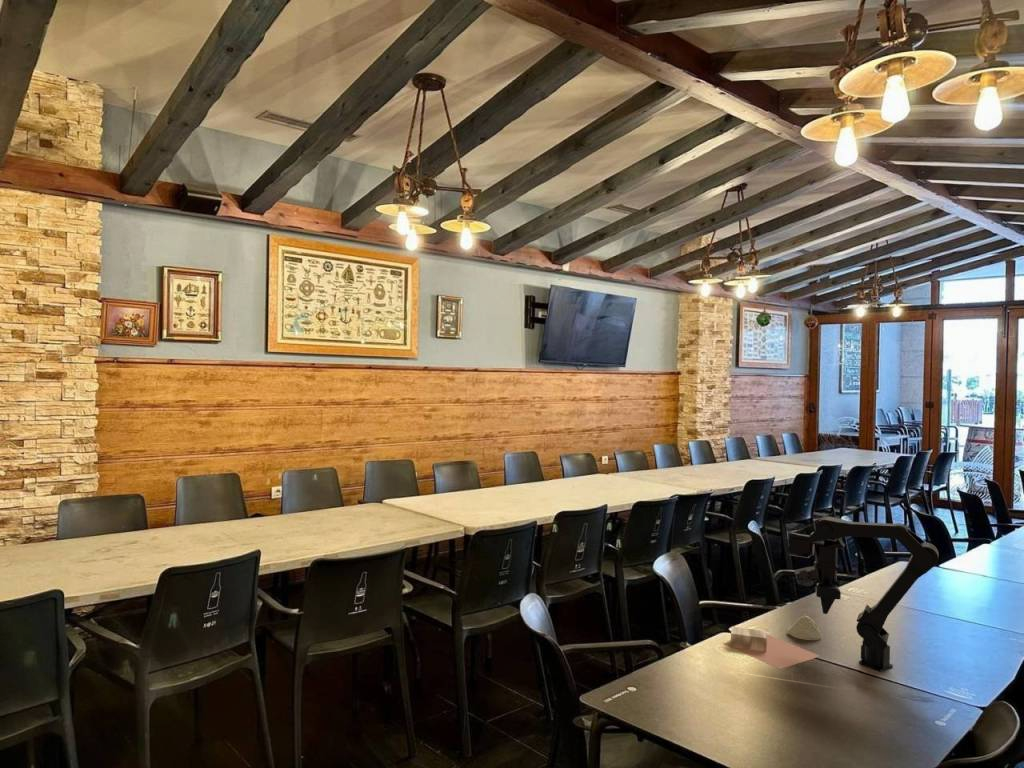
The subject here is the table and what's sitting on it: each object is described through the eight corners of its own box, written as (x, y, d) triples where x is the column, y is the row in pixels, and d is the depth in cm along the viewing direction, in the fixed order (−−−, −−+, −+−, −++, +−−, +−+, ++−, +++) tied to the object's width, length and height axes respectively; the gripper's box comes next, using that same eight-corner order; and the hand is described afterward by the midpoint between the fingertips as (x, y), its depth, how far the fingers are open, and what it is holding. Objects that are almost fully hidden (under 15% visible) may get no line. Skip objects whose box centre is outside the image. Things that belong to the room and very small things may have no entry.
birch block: (766, 631, 206) (731, 626, 209) (766, 638, 200) (730, 633, 204) (766, 644, 206) (731, 639, 210) (766, 651, 200) (730, 646, 204)
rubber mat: (820, 657, 198) (820, 656, 198) (780, 670, 189) (780, 669, 189) (763, 634, 215) (763, 633, 215) (723, 645, 206) (723, 643, 206)
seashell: (828, 636, 209) (807, 624, 208) (810, 653, 212) (789, 641, 211) (820, 617, 216) (800, 605, 215) (802, 634, 219) (782, 622, 219)
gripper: (795, 550, 212) (793, 600, 212) (798, 565, 194) (796, 620, 194) (834, 554, 208) (833, 604, 208) (841, 570, 190) (840, 625, 191)
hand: (824, 613), depth 200 cm, fingers closed
